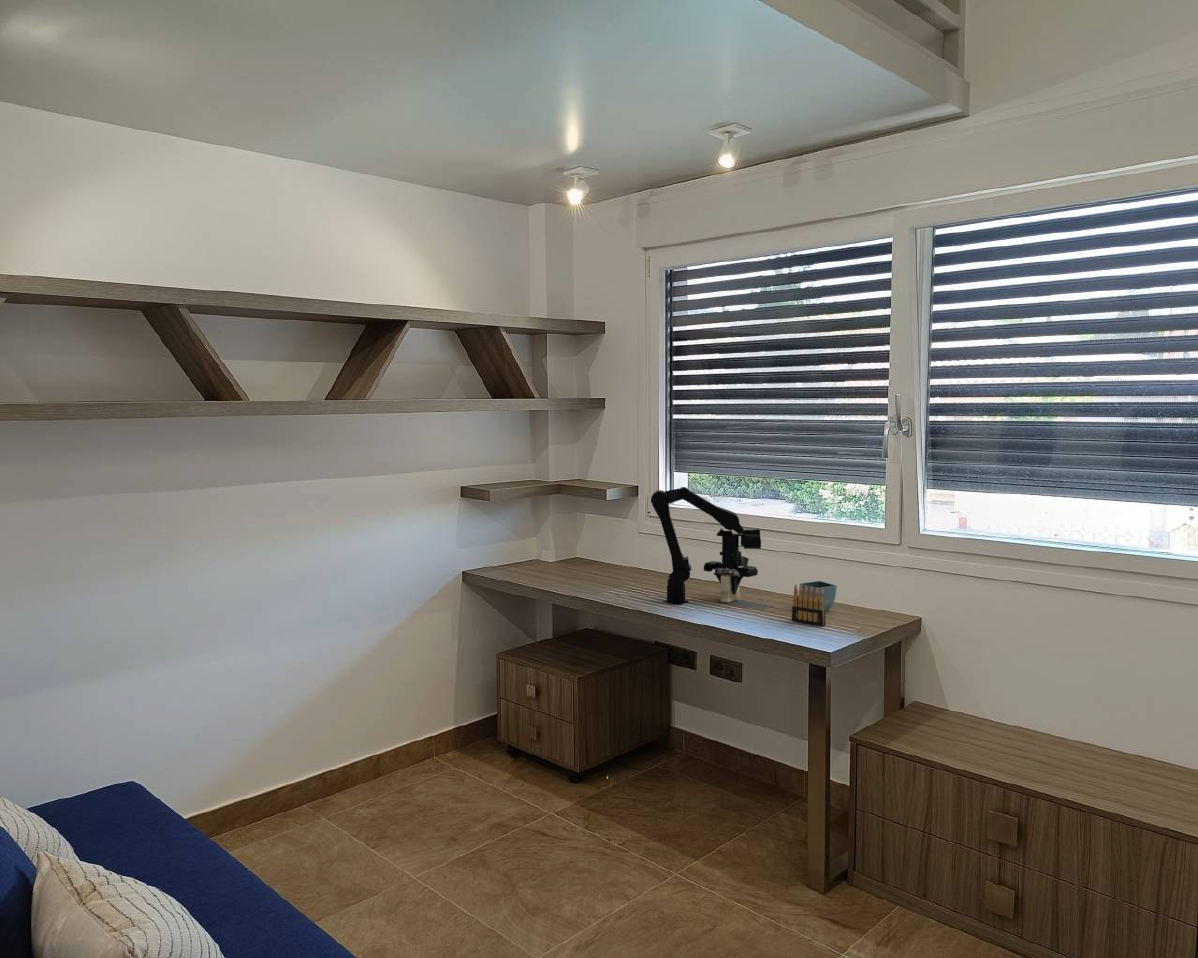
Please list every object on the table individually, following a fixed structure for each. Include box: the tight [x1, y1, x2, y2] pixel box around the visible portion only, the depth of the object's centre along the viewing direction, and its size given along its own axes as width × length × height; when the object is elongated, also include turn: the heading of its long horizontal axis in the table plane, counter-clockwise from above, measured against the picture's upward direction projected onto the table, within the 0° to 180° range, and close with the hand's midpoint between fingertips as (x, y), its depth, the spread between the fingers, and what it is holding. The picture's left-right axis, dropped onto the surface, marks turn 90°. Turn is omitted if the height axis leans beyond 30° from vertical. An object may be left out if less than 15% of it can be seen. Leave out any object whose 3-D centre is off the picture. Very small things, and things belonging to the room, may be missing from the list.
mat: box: [715, 599, 774, 611], centre depth 312 cm, size 8×18×1 cm, turn 48°
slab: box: [720, 572, 741, 602], centre depth 315 cm, size 7×3×9 cm, turn 138°
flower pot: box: [799, 580, 838, 613], centre depth 302 cm, size 9×9×9 cm
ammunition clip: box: [791, 583, 826, 628], centre depth 285 cm, size 11×2×12 cm, turn 51°
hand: (730, 593), depth 315 cm, fingers closed on slab, 3 cm apart
